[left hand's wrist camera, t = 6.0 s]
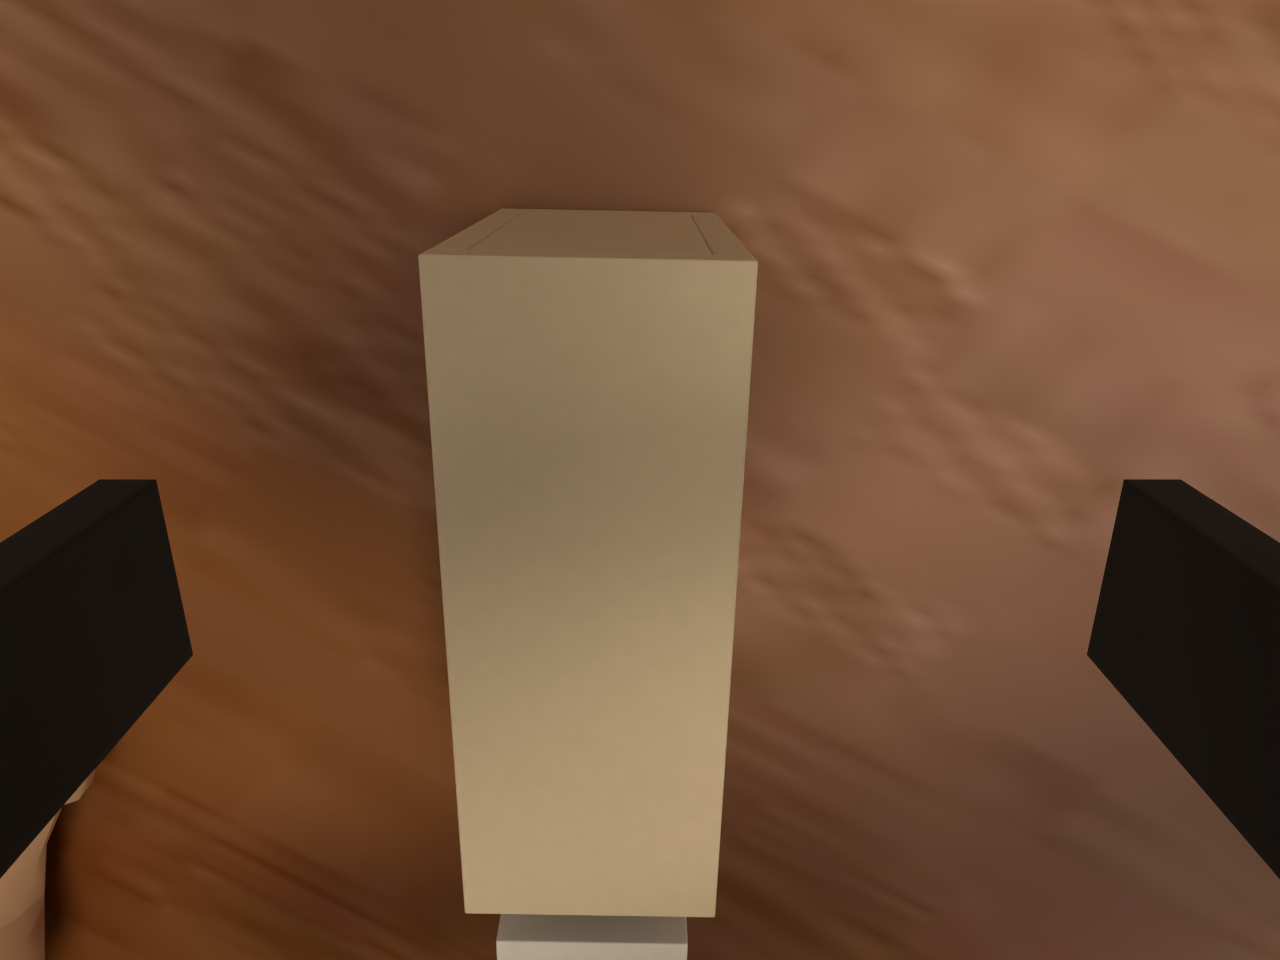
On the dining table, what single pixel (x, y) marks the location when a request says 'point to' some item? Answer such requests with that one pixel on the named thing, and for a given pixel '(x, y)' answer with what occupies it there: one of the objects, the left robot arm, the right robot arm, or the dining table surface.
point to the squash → (28, 896)
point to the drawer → (591, 937)
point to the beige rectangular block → (589, 548)
